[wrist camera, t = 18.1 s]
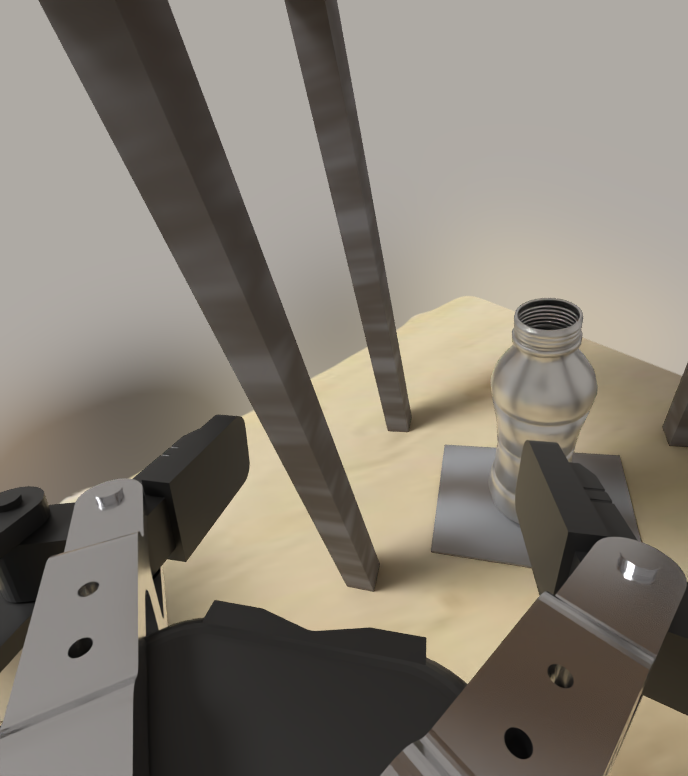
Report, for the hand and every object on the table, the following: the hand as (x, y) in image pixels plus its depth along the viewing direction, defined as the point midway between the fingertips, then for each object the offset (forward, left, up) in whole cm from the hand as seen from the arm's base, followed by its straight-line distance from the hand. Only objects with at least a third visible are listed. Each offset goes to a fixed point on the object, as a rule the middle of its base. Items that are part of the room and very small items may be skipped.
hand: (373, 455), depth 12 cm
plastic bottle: (0, +17, -26) cm, 31 cm away
